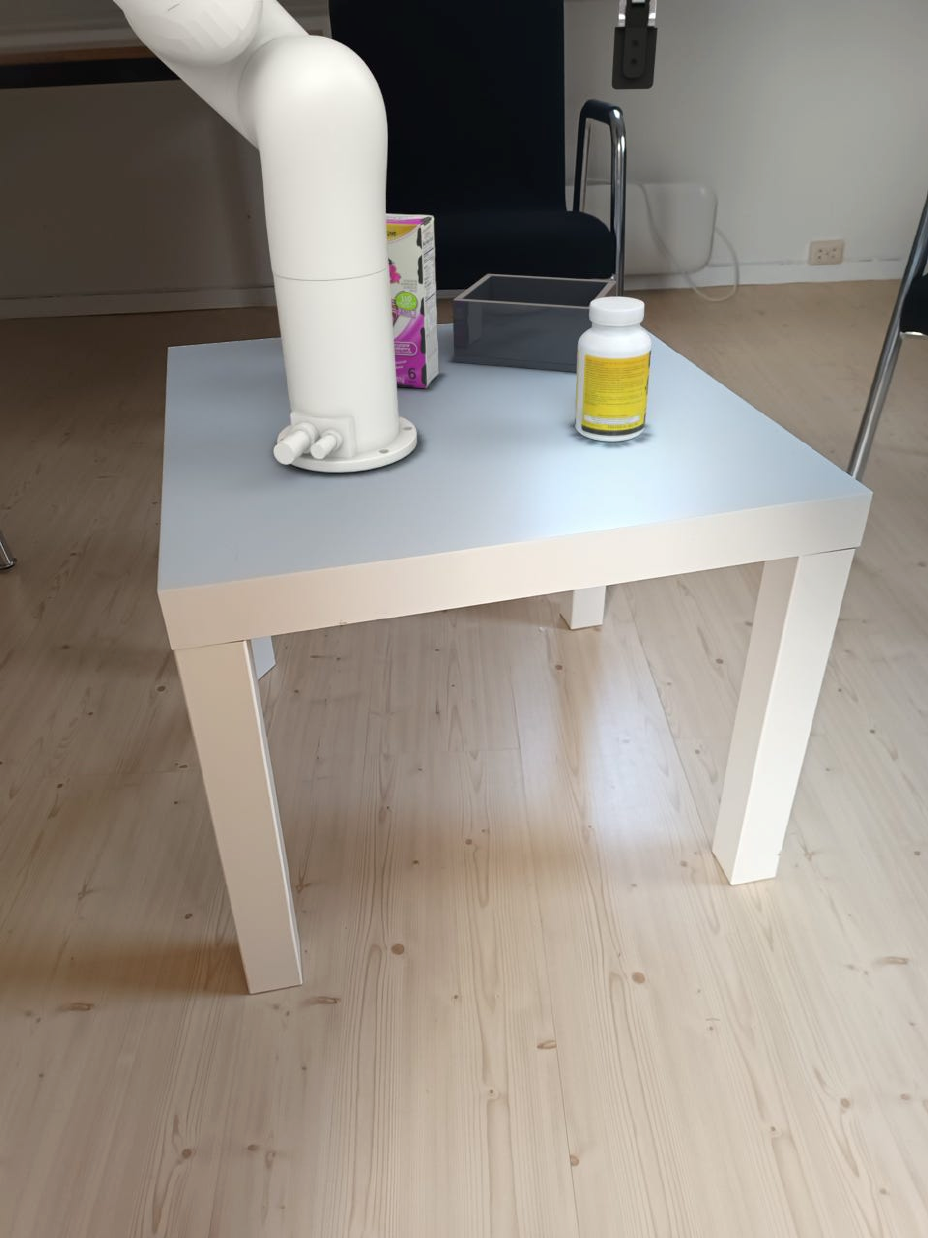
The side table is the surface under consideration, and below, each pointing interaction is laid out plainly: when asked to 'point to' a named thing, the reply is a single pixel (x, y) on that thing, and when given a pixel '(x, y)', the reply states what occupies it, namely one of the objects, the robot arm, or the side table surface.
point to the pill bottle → (613, 371)
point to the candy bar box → (413, 298)
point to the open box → (525, 320)
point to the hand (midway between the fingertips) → (631, 84)
